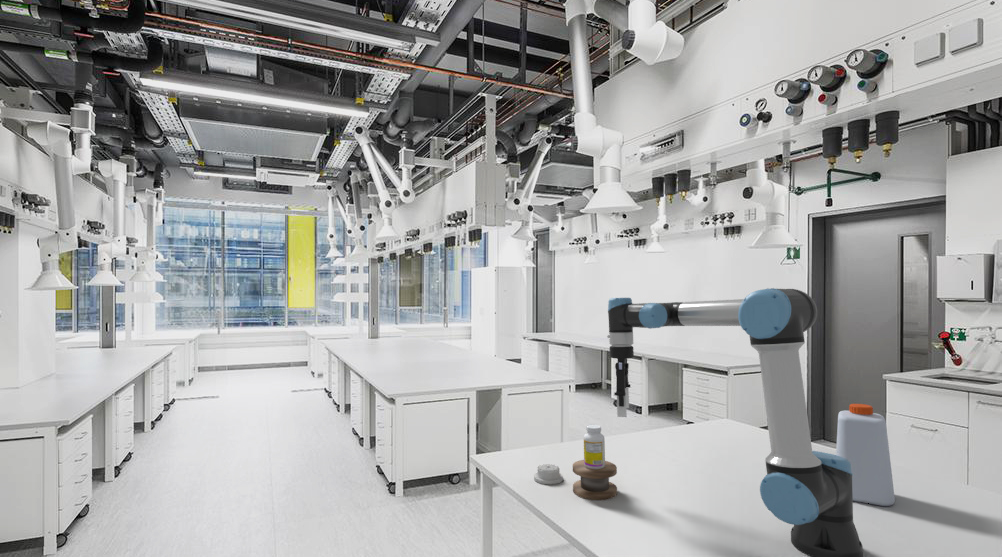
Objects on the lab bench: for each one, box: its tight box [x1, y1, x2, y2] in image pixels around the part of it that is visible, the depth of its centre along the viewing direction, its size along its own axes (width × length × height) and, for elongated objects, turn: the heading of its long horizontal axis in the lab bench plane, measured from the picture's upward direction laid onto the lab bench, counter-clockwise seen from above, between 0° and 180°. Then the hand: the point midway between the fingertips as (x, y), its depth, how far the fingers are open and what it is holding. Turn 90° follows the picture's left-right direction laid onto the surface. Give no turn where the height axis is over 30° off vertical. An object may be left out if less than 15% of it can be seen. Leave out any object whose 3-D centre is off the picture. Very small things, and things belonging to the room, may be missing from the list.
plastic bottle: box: [835, 403, 896, 507], centre depth 160 cm, size 15×15×28 cm
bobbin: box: [572, 459, 618, 501], centre depth 165 cm, size 14×14×8 cm
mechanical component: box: [533, 463, 564, 485], centre depth 176 cm, size 10×4×10 cm
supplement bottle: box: [583, 424, 606, 469], centre depth 165 cm, size 7×7×13 cm
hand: (623, 412), depth 164 cm, fingers open, 13 cm apart
